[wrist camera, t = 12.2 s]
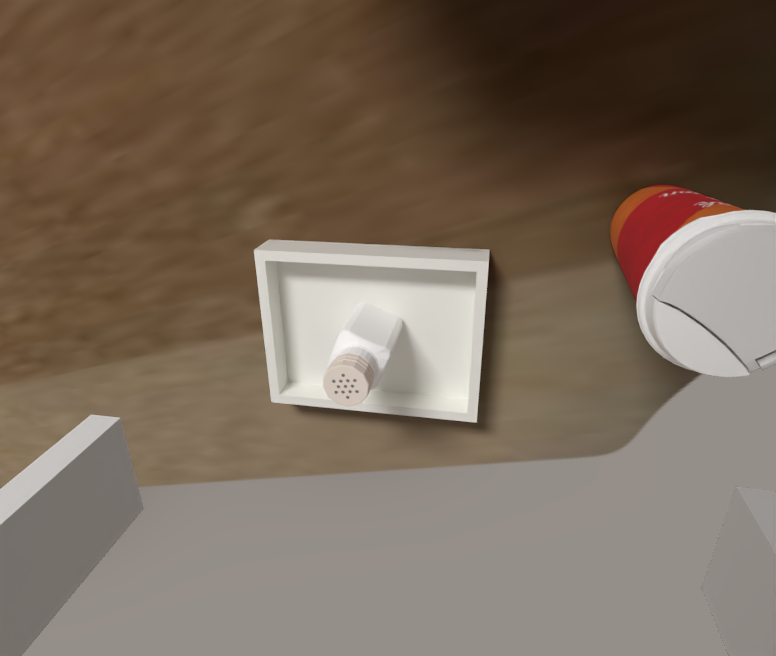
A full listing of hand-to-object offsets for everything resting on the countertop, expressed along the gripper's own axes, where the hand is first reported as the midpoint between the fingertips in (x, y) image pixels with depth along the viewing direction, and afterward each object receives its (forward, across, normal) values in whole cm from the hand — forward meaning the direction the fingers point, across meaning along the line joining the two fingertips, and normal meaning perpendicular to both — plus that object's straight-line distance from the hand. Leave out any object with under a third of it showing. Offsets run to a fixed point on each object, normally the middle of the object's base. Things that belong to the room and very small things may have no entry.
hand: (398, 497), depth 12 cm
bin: (+31, -7, -10) cm, 33 cm away
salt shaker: (+30, -7, -10) cm, 32 cm away
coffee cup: (+31, +13, -1) cm, 34 cm away
